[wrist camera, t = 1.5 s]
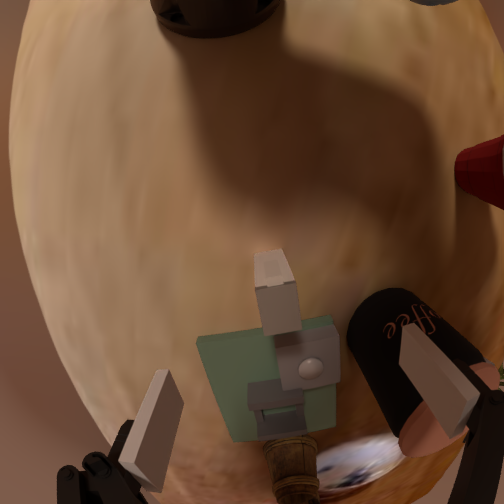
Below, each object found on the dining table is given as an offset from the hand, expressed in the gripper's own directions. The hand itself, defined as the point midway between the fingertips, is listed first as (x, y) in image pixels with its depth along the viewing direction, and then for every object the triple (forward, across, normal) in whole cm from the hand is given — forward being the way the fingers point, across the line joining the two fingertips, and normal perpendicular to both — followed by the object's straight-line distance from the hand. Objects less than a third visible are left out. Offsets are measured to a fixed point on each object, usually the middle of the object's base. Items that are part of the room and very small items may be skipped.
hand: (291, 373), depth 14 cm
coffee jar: (+17, +13, -10) cm, 24 cm away
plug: (+17, 0, 0) cm, 17 cm away
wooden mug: (+18, 0, -34) cm, 39 cm away
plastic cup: (+17, +28, +8) cm, 34 cm away
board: (+17, -2, -17) cm, 24 cm away
